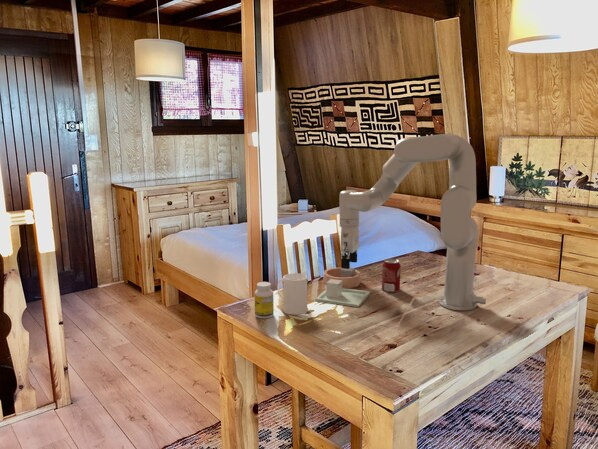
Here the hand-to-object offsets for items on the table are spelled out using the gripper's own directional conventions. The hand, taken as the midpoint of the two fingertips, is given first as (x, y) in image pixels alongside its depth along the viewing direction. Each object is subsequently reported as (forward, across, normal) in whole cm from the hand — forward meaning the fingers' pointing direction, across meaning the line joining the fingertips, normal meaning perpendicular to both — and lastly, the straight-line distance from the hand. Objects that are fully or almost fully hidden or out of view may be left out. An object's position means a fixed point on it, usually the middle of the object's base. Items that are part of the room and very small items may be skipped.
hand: (349, 265), depth 195 cm
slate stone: (+7, 0, +1) cm, 7 cm away
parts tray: (+8, -16, -3) cm, 18 cm away
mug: (+8, -33, +10) cm, 35 cm away
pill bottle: (+8, -42, +16) cm, 46 cm away
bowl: (+8, 0, +3) cm, 9 cm away
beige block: (+7, -16, +1) cm, 18 cm away
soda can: (+9, -1, -17) cm, 19 cm away
